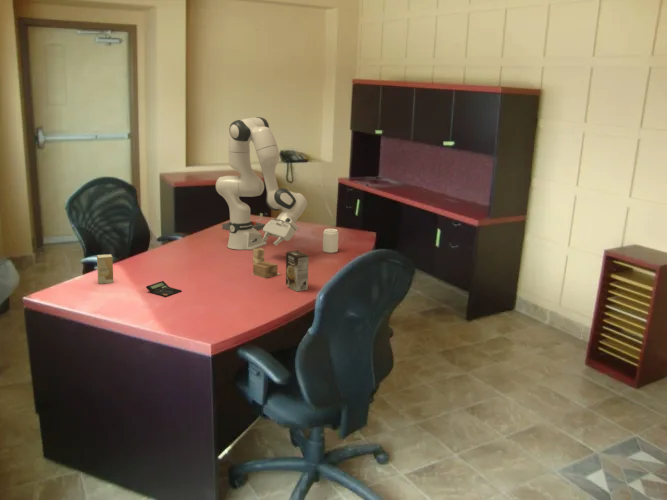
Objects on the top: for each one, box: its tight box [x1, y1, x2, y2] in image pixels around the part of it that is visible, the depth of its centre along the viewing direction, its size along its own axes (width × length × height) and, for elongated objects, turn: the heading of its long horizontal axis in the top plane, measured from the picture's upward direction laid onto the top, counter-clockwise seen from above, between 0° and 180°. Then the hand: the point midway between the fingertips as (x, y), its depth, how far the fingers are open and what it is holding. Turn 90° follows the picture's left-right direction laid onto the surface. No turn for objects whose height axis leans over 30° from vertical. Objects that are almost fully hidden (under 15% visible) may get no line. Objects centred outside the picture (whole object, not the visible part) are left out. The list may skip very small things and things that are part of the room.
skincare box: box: [96, 254, 114, 285], centre depth 281 cm, size 6×4×12 cm
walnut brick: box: [252, 260, 278, 279], centre depth 297 cm, size 8×8×5 cm
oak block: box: [252, 247, 265, 264], centre depth 315 cm, size 4×4×8 cm
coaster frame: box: [221, 220, 266, 231], centre depth 389 cm, size 18×18×3 cm
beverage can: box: [322, 228, 339, 254], centre depth 343 cm, size 8×8×12 cm
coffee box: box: [285, 250, 310, 292], centre depth 281 cm, size 9×6×16 cm
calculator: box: [145, 280, 183, 298], centre depth 273 cm, size 9×12×3 cm
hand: (269, 242), depth 317 cm, fingers open, 8 cm apart
